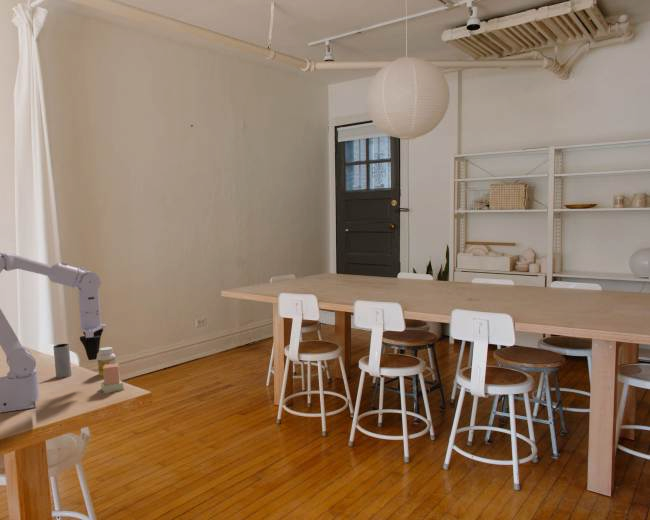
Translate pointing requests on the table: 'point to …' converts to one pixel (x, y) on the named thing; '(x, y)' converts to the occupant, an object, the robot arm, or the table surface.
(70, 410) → the table surface
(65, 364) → the grey cylinder
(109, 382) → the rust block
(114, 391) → the base block
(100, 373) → the supplement bottle
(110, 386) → the top block
